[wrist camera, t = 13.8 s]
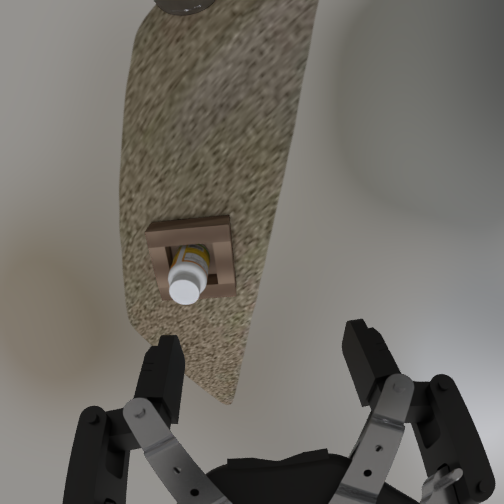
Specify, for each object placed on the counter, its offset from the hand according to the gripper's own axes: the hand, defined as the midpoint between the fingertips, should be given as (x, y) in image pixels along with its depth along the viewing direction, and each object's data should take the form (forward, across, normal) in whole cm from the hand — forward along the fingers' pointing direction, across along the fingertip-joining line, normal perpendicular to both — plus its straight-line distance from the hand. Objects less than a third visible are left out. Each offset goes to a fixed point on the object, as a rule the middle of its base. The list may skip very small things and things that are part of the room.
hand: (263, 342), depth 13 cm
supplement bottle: (+30, +9, +11) cm, 33 cm away
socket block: (+30, +8, +11) cm, 33 cm away
